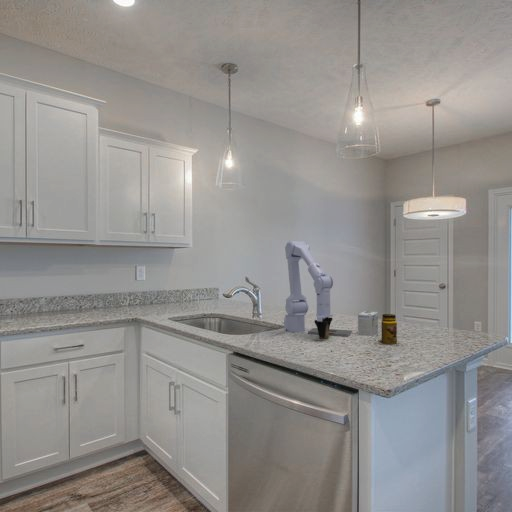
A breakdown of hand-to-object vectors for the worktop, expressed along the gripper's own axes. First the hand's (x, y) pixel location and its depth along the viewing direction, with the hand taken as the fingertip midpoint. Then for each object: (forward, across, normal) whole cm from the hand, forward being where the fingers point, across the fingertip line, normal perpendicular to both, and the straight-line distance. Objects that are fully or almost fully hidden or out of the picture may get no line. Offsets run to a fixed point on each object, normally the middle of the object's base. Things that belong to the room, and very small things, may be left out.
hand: (323, 335), depth 160 cm
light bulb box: (+3, +19, -16) cm, 25 cm away
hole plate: (+3, +12, 0) cm, 12 cm away
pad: (+3, 0, 0) cm, 3 cm away
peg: (+1, 0, 0) cm, 1 cm away
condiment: (+3, +8, -25) cm, 26 cm away
